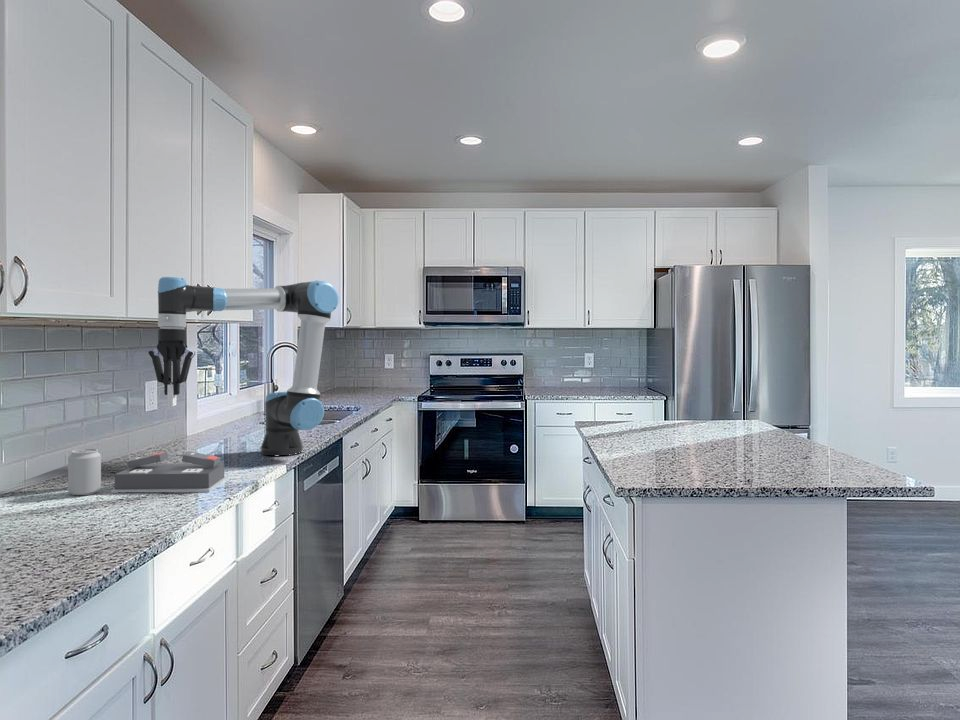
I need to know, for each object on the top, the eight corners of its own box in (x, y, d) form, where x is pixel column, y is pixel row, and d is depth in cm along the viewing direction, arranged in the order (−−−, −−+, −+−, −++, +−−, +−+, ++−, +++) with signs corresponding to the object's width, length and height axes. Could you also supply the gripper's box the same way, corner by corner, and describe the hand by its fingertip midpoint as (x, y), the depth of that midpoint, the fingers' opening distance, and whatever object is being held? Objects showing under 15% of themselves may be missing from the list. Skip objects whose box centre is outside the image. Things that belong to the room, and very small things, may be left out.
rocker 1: (137, 464, 170) (135, 457, 170) (168, 458, 171) (166, 451, 171) (128, 468, 165) (127, 461, 165) (160, 461, 166) (159, 454, 166)
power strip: (137, 479, 173) (137, 462, 173) (227, 479, 176) (227, 461, 176) (111, 493, 158) (110, 473, 158) (209, 492, 161) (209, 473, 161)
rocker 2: (188, 457, 172) (190, 450, 172) (219, 463, 173) (220, 456, 173) (181, 461, 167) (183, 454, 167) (213, 467, 168) (214, 460, 168)
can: (84, 497, 154) (84, 453, 153) (61, 495, 155) (60, 451, 155) (107, 490, 161) (107, 448, 160) (85, 488, 162) (85, 446, 162)
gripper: (143, 327, 170) (143, 406, 171) (189, 328, 171) (189, 407, 172) (155, 328, 178) (155, 404, 178) (199, 329, 179) (199, 404, 180)
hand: (172, 405), depth 175 cm, fingers closed
